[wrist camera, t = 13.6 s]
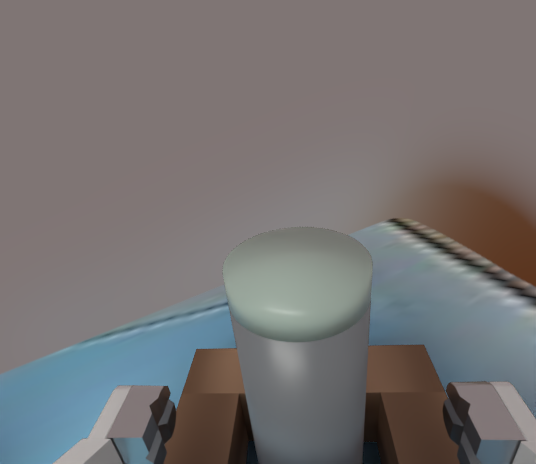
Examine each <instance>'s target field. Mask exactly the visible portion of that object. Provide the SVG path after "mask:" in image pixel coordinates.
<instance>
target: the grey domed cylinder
mask: <svg viewBox="0 0 536 464" xmlns="http://www.w3.org/2000/svg"><path fill="white" fill-rule="evenodd" d="M223 278H224V284H225V289H226V294H227V300H228V305H229V310H230V315H231V321H232V326H233V331H234V337H235V342H236V347H237V352H238V358H239V363H240V368H241V373H242V379H243V384H244V389H245V395H246V400H247V405H248V410H249V416H250V421H251V426H252V432H253V437H254V442H255V447H256V453H257V458H258V463H259V464H362V459H363V440H364V421H365V402H366V382H367V363H368V344H369V324H370V305H371V286H372V258H371V256H370V254H369V252H368V250H367V249H366V248H365V247H364V246H363V245H362V244H361V243H360V242H358V241H357V240H355V239H354V238H352V237H350V236H348V235H345V234H343V233H340V232H337V231H333V230H329V229H323V228H314V227H292V228H284V229H277V230H272V231H269V232H265V233H262V234H259V235H256V236H254V237H252V238H250V239H248V240H246V241H244V242H242V243H241V244H239V245H238V246H237V247H236V248H234V249H233V250H232V251H231V253H230V254H229V255H228V256H227V258H226V260H225V262H224V265H223Z"/></svg>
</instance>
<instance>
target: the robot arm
mask: <svg viewBox="0 0 536 464" xmlns="http://www.w3.org/2000/svg"><path fill="white" fill-rule="evenodd" d="M446 392H447V394H448V397H449V398H448V399H447V400H445V401H444V404H443V419H444V423H445V427H446V430H447V433H448V435H449V438H450V439H451V440H452V441H453V442H455V443H456V444H457V445H458V446H459V448H458V452H457V457H458V460H459V462H460V464H536V418H535V417H534V416H533V414H532V413H531V411H530V410H529V408H528V407H527V405H526V404H525V402H524V401H523V399H522V398H521V396H520V395H519V393H518V392H517V391H516V389H515V388H514V386H513V385H512V384H511V383H509V382H486V381H482V382H450V383H449V384H448V385H447V389H446ZM170 394H171V393H170V391H169V388H168V386H135V385H127V386H117V387H116V388H115V389H114V390H113V392H112V394H111V396H110V398H109V399H108V401H107V403H106V405H105V407H104V409H103V410H102V412H101V414H100V416H99V418H98V420H97V422H96V423H95V425H94V427H93V429H92V431H91V433H90V435H89V436H88V438H85V439H81V440H80V441H79V442H78V443H77V444H76V445H74V446H73V447H72V448H71V449H70V450H68V451H67V452H66V453H65V454H64V455H62V456H61V457H60V458H59V459H58V460H56V461H55V462H54V463H53V464H163V463H164V460H165V457H166V454H167V451H166V448H165V445H164V444H165V443H166V442H167V441H168V440H169V439H170V438H171V437H172V435H173V432H174V428H175V423H176V408H175V405H174V403H173V402H172V401H170V400H169V396H170Z"/></svg>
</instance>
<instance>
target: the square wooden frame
mask: <svg viewBox="0 0 536 464" xmlns="http://www.w3.org/2000/svg"><path fill="white" fill-rule="evenodd" d="M447 399H448V397H447V395H446V393H445V391H444V388H443V386H442V384H441V382H440V379H439V377H438V375H437V373H436V371H435V368H434V366H433V364H432V362H431V359H430V357H429V355H428V353H427V351H426V348H425V346H424V345H381V346H368V363H367V382H366V402H365V421H364V440H363V442H377V446H378V451H379V456H380V460H381V464H460V462H459V460H458V457H457V452H458V448H459V446H458V445H457V444H456V443H455V442H453V441H452V440H451V439H450V438H449V435H448V433H447V430H446V427H445V423H444V419H443V404H444V401H445V400H447ZM249 441H254V437H253V432H252V426H251V421H250V416H249V410H248V405H247V400H246V395H245V389H244V384H243V379H242V373H241V368H240V363H239V358H238V352H237V348H228V349H196V352H195V355H194V358H193V361H192V364H191V367H190V370H189V374H188V377H187V380H186V383H185V386H184V389H183V392H182V395H181V398H180V401H179V404H178V407H177V410H176V423H175V428H174V432H173V435H172V437H171V438H170V439H169V440H168V441H167V442H166V443H165V448H166V451H167V454H166V457H165V460H164V463H163V464H246V459H247V450H248V442H249Z"/></svg>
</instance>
